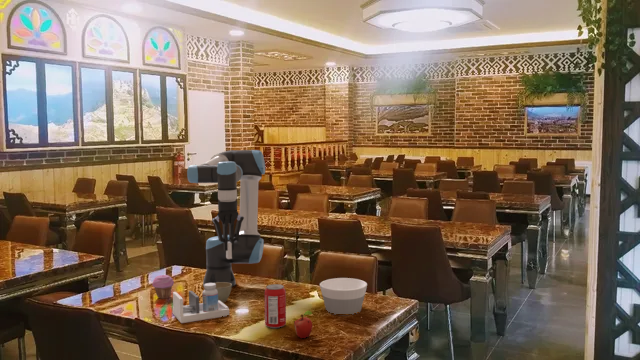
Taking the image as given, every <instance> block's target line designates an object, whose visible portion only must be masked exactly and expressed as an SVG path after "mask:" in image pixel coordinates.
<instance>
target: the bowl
mask: <svg viewBox="0 0 640 360" xmlns="http://www.w3.org/2000/svg"><path fill="white" fill-rule="evenodd" d="M367 286H368V283H367V282H366V281H364V280H361V279H359V278H352V277H351V278H350V277H349V278H348V277H337V278H336V277H334V278H328V279H326V280H323V281H321V282H319V288H320V291H321V296H322V298H323V304H324V307H325V310H327V311H328V313H329V312H330V313H329V314H331V313H334V314H333V315H336V314H352V315H355V314H354V313H356V314H358V313H357V312H359V313H360V312H361V311H362V307H363V303H364V299H365V296H366V291H367V288H368V287H367ZM327 311H326V312H327Z"/></svg>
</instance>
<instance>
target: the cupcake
mask: <svg viewBox="0 0 640 360" xmlns="http://www.w3.org/2000/svg"><path fill="white" fill-rule="evenodd" d="M174 284H175V283H174V280H173V277H171V276H170V275H167V274H160V275H156V276H155V278H154V279H153V281H152V287H153V288H154V291H155V294H156V296H157V298H159V299H167V298H170V297H171V295H172V288H173V286H174Z"/></svg>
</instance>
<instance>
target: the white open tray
mask: <svg viewBox="0 0 640 360" xmlns="http://www.w3.org/2000/svg"><path fill="white" fill-rule="evenodd" d="M172 306H173V307H172V314H173V316H174V317H175V318H176V319H177V320H178V321H179V322H180V323H181V324H185V323H191V322H198V321H204V320H211V319H216V318H221V317H222V316H223V317H227V315H229V316H230V309H229V306H227V305H226V304H225V302H223V303H222V302H221V301H220V300H218V310H215V311H209V312H203V302H202V303H200V302H199V313H196V314H192V313H191V312H190V311H184V312H183V308H186V307H189V304H188V305H187V304H186V305H184V299H183V297H182V296H181V295H180V294H179V293H178V292H177V291H173V292H172Z"/></svg>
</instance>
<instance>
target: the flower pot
mask: <svg viewBox="0 0 640 360" xmlns="http://www.w3.org/2000/svg"><path fill="white" fill-rule="evenodd" d="M215 284H216V288H215V289H216V290H217V291H218V300H220V301H221V302H222V303H226V302H227V300H228V299H229V296H230V294H231V291H232V287H233V286H232V284H231V283H227V282H217V283H215Z"/></svg>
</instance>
